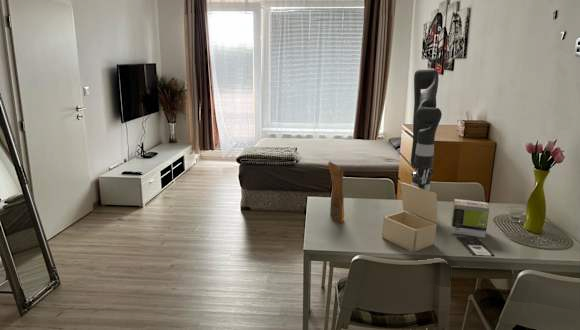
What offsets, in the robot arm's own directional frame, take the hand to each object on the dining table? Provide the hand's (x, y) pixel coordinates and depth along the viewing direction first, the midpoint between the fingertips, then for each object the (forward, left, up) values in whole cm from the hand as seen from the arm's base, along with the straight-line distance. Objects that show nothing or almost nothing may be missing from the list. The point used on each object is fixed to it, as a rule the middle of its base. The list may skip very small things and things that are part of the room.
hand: (420, 191), depth 190 cm
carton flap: (+1, 0, -5) cm, 5 cm away
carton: (+5, 0, -23) cm, 23 cm away
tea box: (-28, +9, -23) cm, 37 cm away
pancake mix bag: (+14, -39, -23) cm, 47 cm away
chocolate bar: (-16, +20, -23) cm, 34 cm away
